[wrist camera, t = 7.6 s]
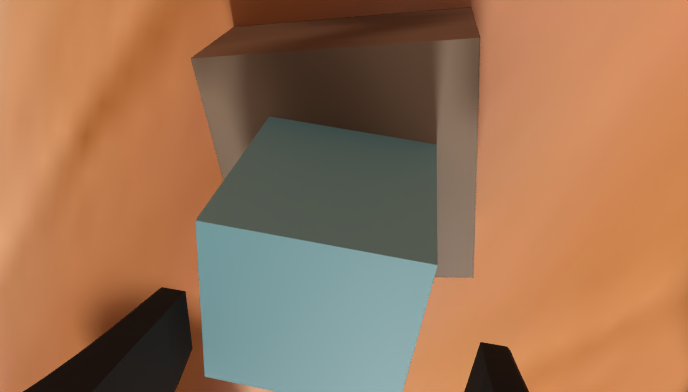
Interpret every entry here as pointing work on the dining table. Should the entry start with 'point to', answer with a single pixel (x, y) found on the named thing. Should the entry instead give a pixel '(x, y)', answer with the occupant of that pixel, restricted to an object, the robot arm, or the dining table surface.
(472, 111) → the brown block
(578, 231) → the dining table surface
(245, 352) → the teal block
